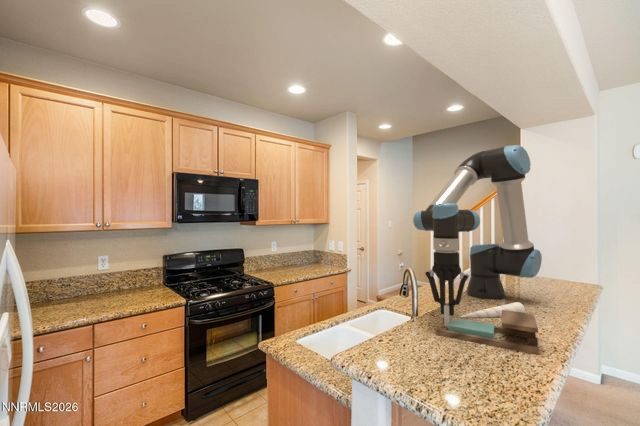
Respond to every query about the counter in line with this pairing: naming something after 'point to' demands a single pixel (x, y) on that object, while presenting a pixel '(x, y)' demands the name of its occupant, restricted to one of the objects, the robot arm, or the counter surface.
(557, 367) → the counter surface
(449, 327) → the tile
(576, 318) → the counter surface
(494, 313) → the unicorn horn
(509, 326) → the overhang
